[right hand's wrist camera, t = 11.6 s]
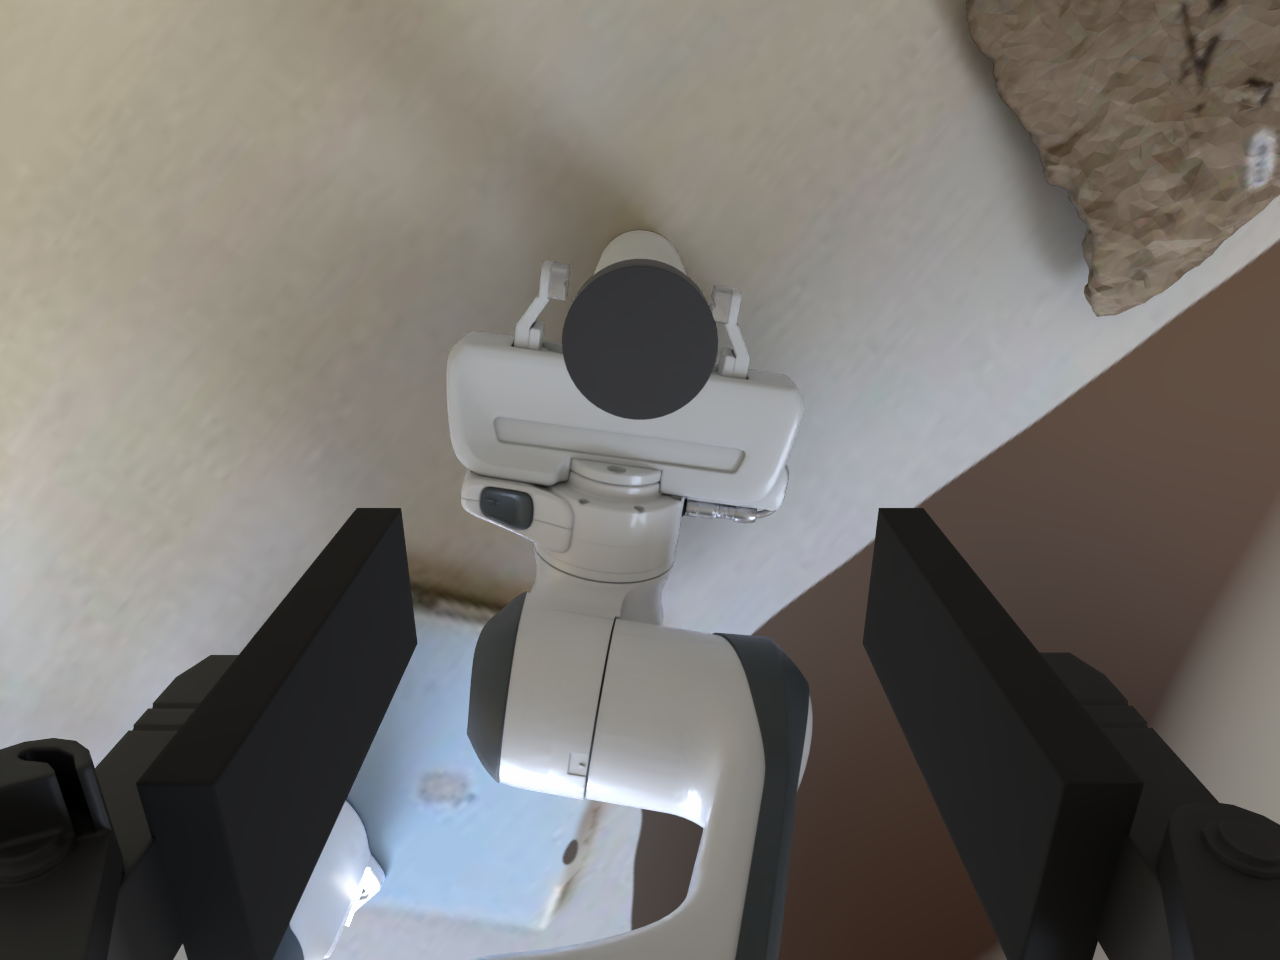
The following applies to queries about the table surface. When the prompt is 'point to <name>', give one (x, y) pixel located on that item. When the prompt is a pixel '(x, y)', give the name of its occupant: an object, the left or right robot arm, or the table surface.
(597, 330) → the lid
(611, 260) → the white bottle
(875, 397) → the table surface
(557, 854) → the table surface
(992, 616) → the right robot arm
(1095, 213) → the stone
